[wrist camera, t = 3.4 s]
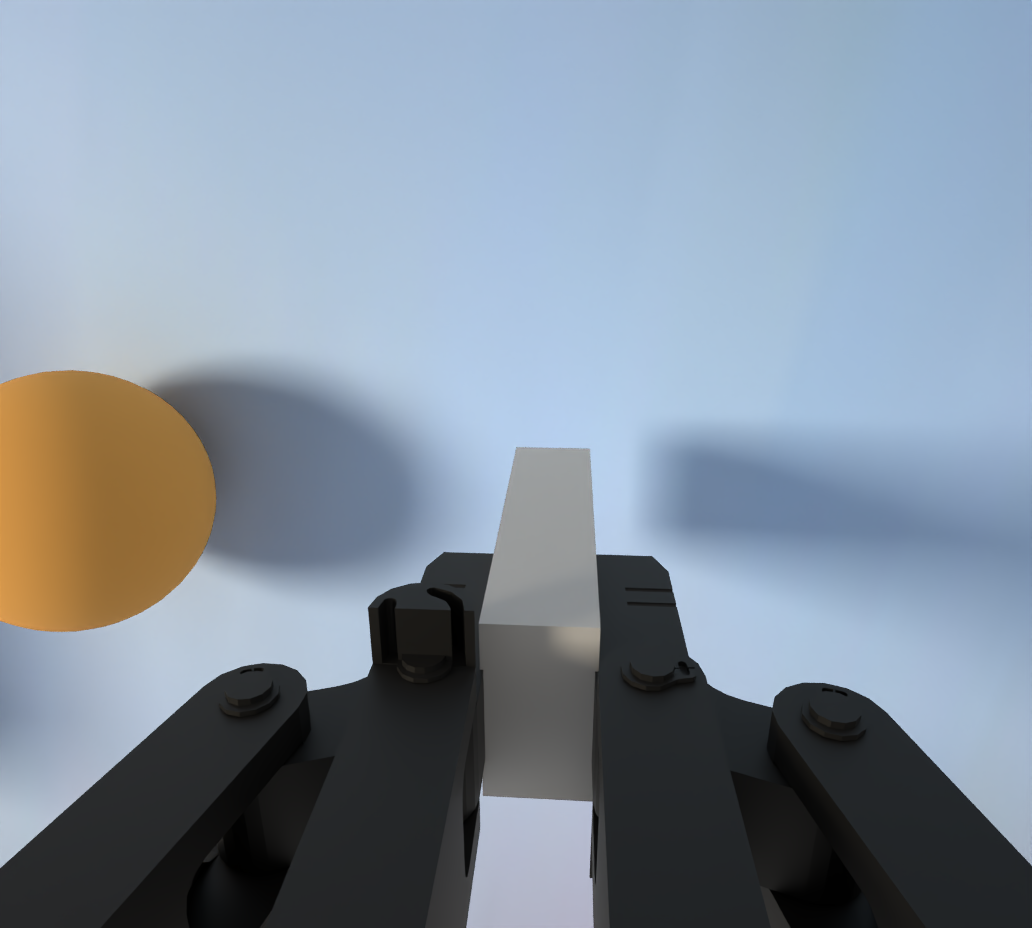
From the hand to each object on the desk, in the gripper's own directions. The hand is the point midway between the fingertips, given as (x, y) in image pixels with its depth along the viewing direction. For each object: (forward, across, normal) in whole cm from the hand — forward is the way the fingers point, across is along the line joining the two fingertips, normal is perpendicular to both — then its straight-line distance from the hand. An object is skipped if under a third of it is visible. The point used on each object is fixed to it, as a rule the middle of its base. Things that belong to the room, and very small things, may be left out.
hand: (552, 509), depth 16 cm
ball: (0, -10, 0) cm, 10 cm away
